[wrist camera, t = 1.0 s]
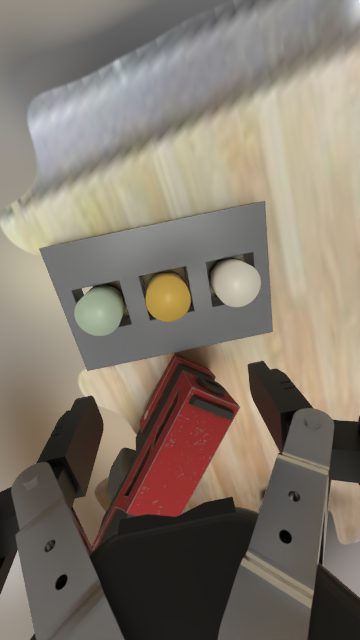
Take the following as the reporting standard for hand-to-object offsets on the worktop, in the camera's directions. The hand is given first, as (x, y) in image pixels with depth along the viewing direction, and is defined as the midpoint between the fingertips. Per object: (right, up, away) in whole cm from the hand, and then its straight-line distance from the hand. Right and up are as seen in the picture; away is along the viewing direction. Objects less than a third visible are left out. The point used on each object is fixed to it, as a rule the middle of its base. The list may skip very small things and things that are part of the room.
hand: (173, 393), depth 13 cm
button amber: (-1, +7, +15) cm, 16 cm away
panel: (-1, +8, +17) cm, 18 cm away
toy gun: (-3, -10, +24) cm, 26 cm away
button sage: (-8, +5, +15) cm, 18 cm away
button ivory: (+6, +8, +15) cm, 18 cm away
